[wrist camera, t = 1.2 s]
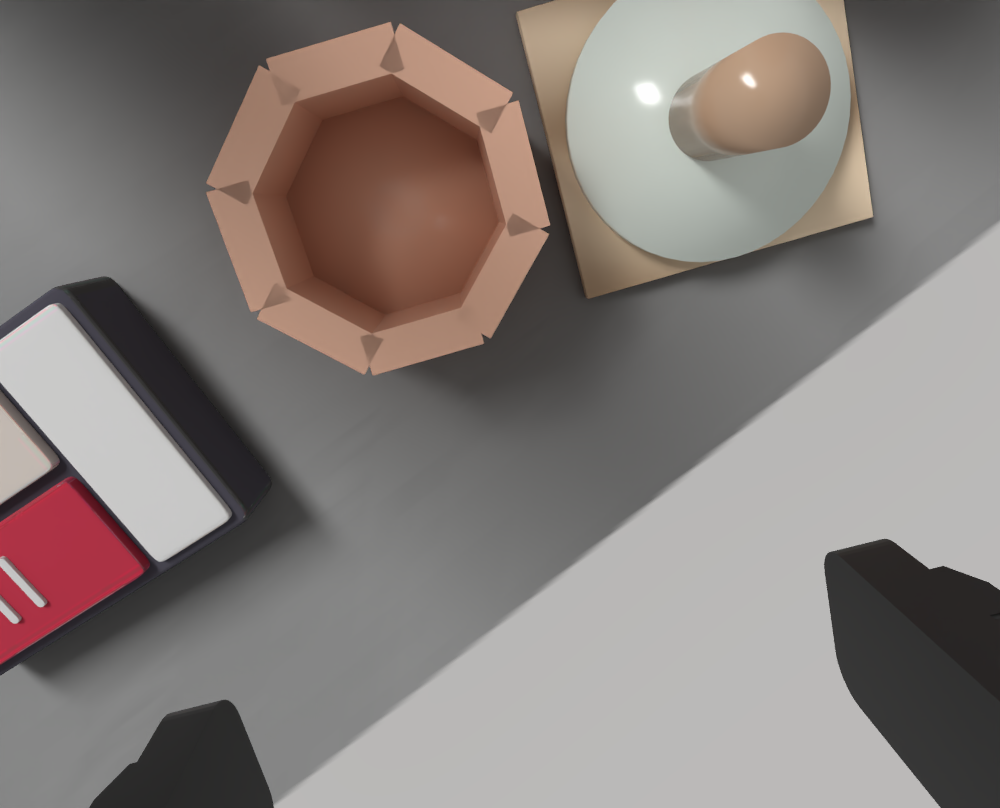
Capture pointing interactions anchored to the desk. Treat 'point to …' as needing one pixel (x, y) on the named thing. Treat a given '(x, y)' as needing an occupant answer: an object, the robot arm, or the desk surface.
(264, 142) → the bowl
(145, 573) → the calculator
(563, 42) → the mat
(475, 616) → the desk surface
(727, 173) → the lid
